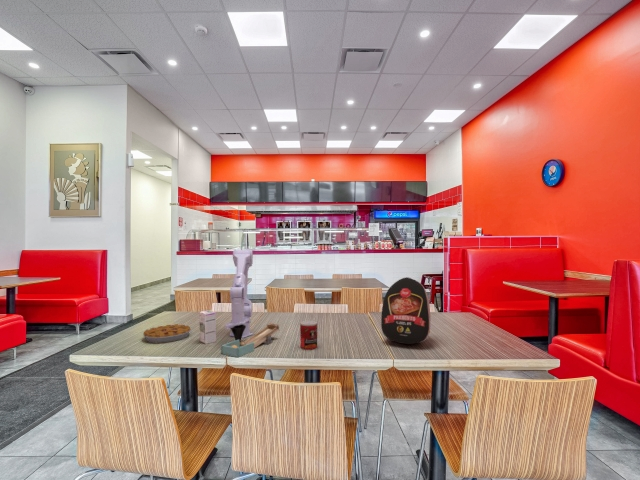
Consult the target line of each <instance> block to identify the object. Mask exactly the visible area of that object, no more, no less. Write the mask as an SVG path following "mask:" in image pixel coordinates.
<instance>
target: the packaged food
mask: <svg viewBox="0 0 640 480" xmlns="http://www.w3.org/2000/svg"><path fill="white" fill-rule="evenodd" d="M380 321H381V322H380V323H381V326H380V327H381V332H382V334H383V335H384V337H385V338H387V339H388V340H390V341H393V342H396V343H400V344H406V345H412V344H418V343H419V344H420V343H423V342H425V341H427V339H428V338H429V335H430V334H431V306H430V300H429V296H428V292H427V290H426V289H425V287H424V285H423V284H421V282H419V281H418V280H415V279H413V278H411V277H409V276H407V277H403V278H400V279H398V280H396V281H395V282H394V283H393V284H392V285H391V286H389V288H388V289H387V291H386V293H385V296H384V298H383V302H382V308H381V320H380Z"/></svg>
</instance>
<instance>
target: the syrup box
mask: <svg viewBox="0 0 640 480" xmlns="http://www.w3.org/2000/svg"><path fill="white" fill-rule="evenodd" d="M216 316H217V315H216V311H214V310H210V309H209V310H208V309H207V310H202V311H199V342H200V343H203V344H204V345H207V344H211V343H215V342H217V330H216V329H217V328H216V327H217V324H216Z"/></svg>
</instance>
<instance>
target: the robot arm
mask: <svg viewBox="0 0 640 480" xmlns="http://www.w3.org/2000/svg"><path fill="white" fill-rule="evenodd" d="M253 258H254V251H253V250H252V249H234V250H233V251H232V261H233V264H234V267H236V273H235V274H234V275H233V277H232V278H233V281H232V287H230V290H229V296H230V297H229V298H230V303H231V320H230V322H228V323H226V324H224V330H230V333H229V336H230V337H234V340H240V341H242V339H244V338H247V337H251V336H253V335H254V333H253V332H251V331H250V330H251V329H250V324H251V317H252V316H253V303H252V300H250V299H248V281H249V280H248V279H249V277H248V276H249V275H248V274H249V273H248V272H249V268H251V267H252V266H253V263H254V261H253V260H254V259H253Z"/></svg>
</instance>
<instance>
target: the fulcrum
mask: <svg viewBox="0 0 640 480" xmlns="http://www.w3.org/2000/svg"><path fill="white" fill-rule="evenodd" d="M255 334H256V333H255ZM255 334H254V333H253V335H255ZM271 344H273V341H272V336H267V337H266V340H265V341H264V342H262V343H261V344H260V345H266V346H267V345H271Z"/></svg>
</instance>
